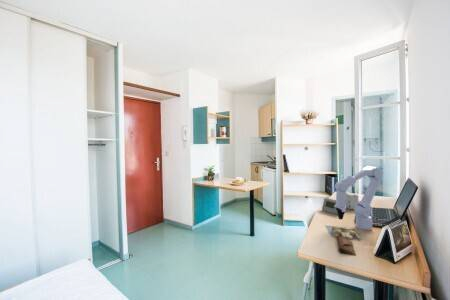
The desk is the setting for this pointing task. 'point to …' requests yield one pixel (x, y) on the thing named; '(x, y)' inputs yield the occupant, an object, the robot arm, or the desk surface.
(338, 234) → the keyhole board
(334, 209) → the digital clock
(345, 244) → the sunglasses case
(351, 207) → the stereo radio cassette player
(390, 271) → the desk surface
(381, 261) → the desk surface
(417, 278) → the desk surface
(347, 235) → the panel
